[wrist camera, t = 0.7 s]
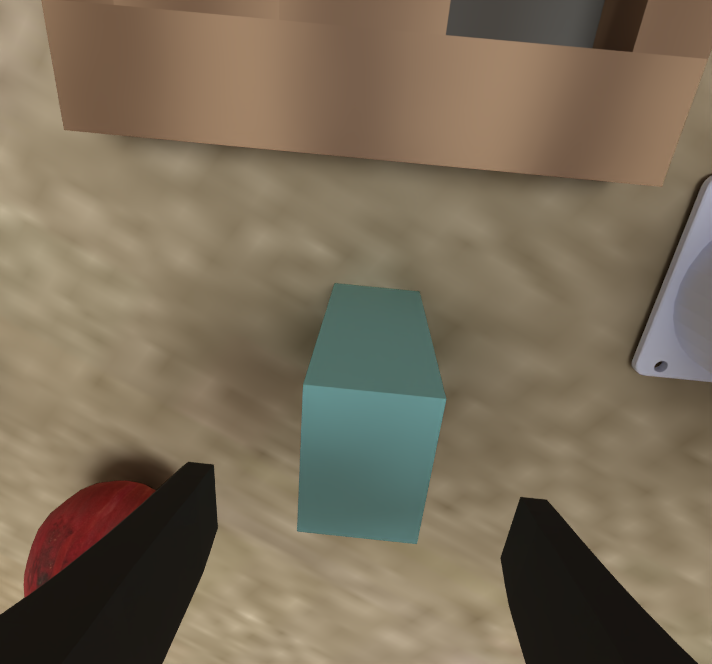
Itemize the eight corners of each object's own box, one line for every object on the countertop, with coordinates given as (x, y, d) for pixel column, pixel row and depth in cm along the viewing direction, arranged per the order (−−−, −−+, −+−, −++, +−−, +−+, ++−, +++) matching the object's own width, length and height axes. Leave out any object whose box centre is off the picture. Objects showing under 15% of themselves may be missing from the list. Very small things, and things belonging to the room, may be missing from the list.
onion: (72, 455, 22) (-76, 609, 15) (174, 438, 22) (69, 591, 14) (122, 535, 25) (14, 702, 17) (216, 522, 24) (144, 692, 17)
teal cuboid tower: (419, 291, 18) (446, 399, 11) (403, 394, 20) (416, 543, 13) (334, 283, 18) (303, 384, 11) (327, 387, 20) (297, 531, 13)
